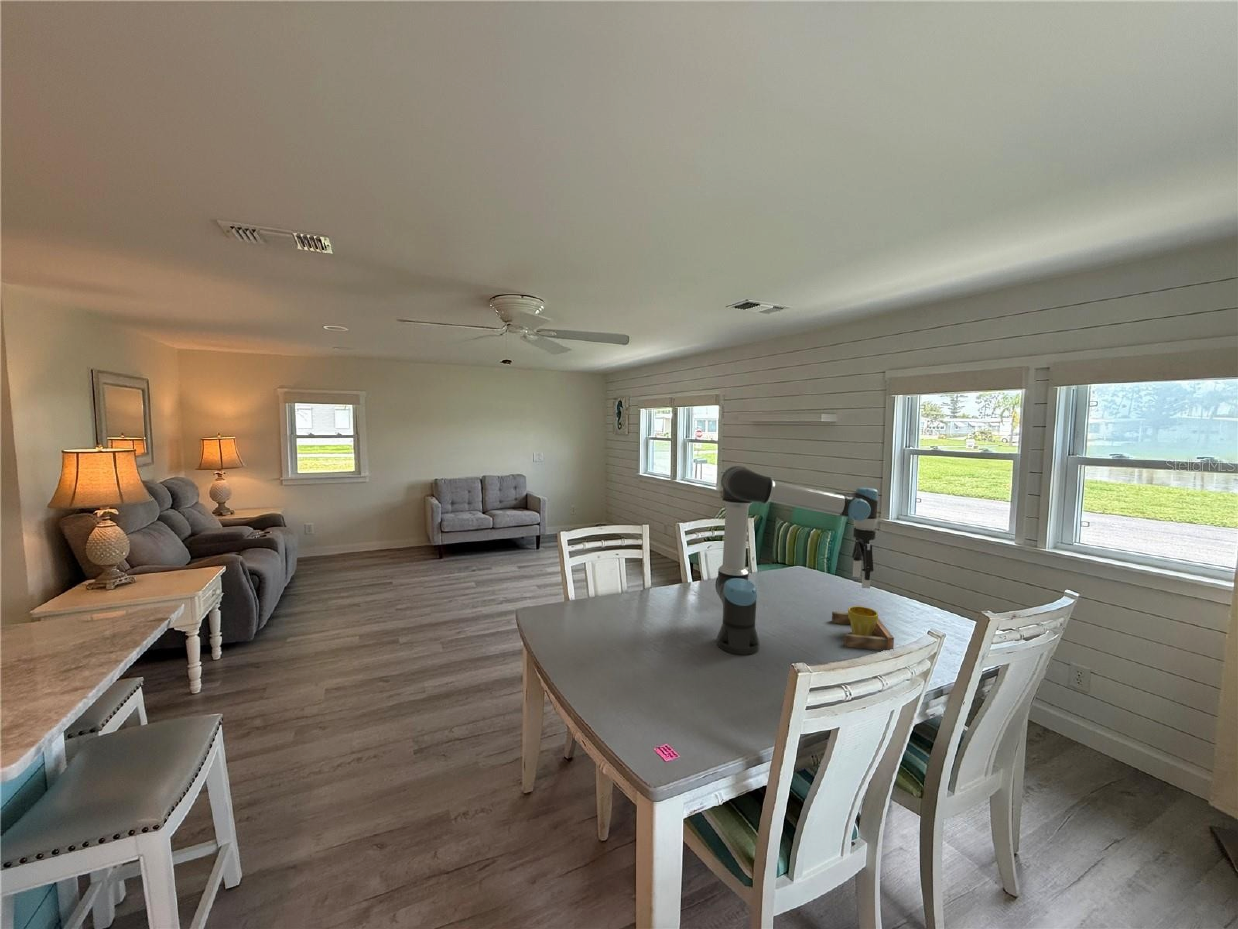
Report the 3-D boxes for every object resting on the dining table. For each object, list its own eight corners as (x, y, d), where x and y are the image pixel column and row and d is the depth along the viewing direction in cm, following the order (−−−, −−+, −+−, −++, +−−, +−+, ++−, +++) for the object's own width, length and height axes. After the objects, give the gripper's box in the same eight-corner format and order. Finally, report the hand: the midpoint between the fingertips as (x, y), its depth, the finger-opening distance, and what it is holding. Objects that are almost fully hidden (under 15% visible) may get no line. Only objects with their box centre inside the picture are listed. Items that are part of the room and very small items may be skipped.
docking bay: (845, 646, 181) (846, 633, 181) (831, 620, 205) (832, 609, 204) (893, 651, 178) (894, 638, 178) (873, 624, 201) (874, 612, 201)
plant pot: (858, 642, 185) (860, 617, 184) (841, 630, 195) (842, 606, 194) (882, 640, 187) (884, 615, 186) (864, 628, 197) (865, 605, 196)
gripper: (885, 536, 175) (881, 594, 177) (866, 522, 200) (862, 573, 201) (862, 534, 177) (858, 592, 179) (846, 521, 201) (843, 571, 203)
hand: (860, 582), depth 190 cm, fingers open, 13 cm apart
